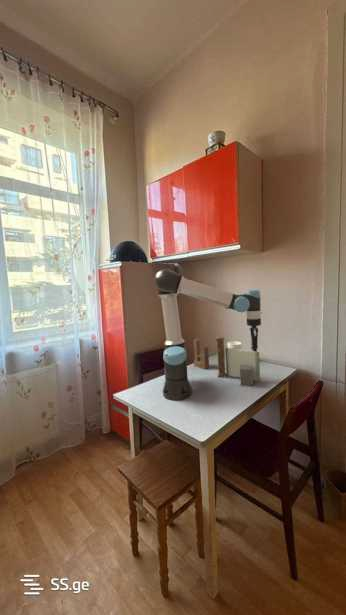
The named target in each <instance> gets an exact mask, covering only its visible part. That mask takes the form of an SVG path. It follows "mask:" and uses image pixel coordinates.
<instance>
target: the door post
mask: <svg viewBox="0 0 346 615" xmlns="http://www.w3.org/2000/svg"><path fill="white" fill-rule="evenodd" d="M215 338H216V342H217V343H216V344H217V345H216V346H217V361H218V364H217V365H218V366H217V367H218V372H217V378H222V379H224V378H226V379H227V376H228V375H227V372H226V356H225V336H216V337H215Z"/></svg>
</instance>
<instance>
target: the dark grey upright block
mask: <svg viewBox="0 0 346 615" xmlns="http://www.w3.org/2000/svg"><path fill="white" fill-rule="evenodd" d="M239 380H240V386H244V387H245V386H248V387H249V386H250V387H252V386H253V380H252V368H251V366H247V365H240V378H239Z"/></svg>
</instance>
